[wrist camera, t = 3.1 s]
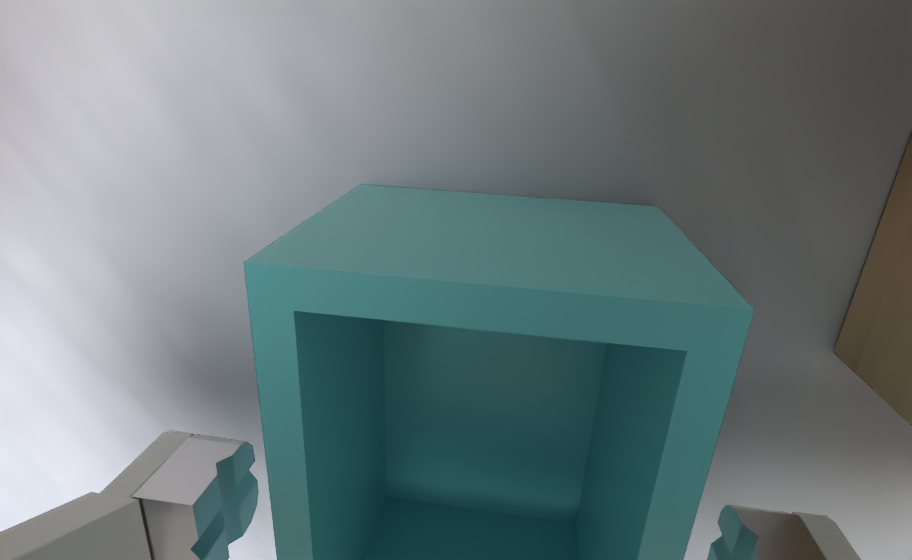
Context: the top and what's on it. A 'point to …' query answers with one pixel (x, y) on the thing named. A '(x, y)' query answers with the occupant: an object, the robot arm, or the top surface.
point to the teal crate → (489, 378)
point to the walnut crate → (885, 303)
